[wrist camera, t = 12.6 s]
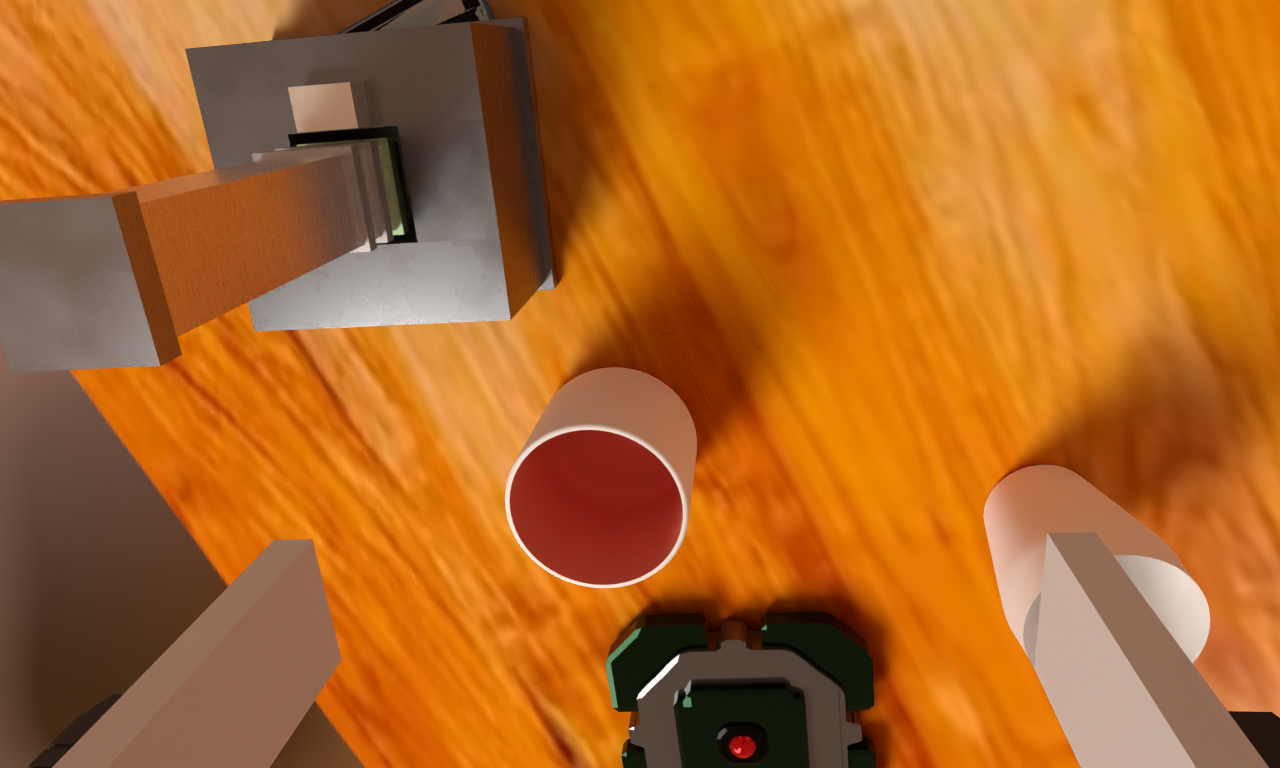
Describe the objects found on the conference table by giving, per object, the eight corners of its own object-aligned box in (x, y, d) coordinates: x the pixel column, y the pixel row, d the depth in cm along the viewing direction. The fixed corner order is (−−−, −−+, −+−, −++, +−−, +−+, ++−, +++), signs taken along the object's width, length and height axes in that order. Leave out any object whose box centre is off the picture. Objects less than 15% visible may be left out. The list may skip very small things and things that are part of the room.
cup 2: (955, 459, 53) (1011, 566, 42) (1110, 433, 51) (1212, 538, 40) (971, 581, 56) (1028, 712, 45) (1119, 561, 54) (1216, 692, 43)
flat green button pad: (605, 606, 60) (594, 647, 56) (866, 596, 58) (875, 639, 53) (636, 800, 66) (628, 850, 62) (873, 799, 64) (882, 852, 59)
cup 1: (627, 329, 52) (602, 387, 43) (730, 446, 54) (727, 526, 45) (513, 421, 56) (466, 494, 46) (614, 528, 58) (589, 619, 48)
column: (312, 139, 43) (-48, 207, 23) (403, 132, 42) (111, 196, 23) (332, 234, 45) (11, 371, 25) (420, 228, 44) (160, 365, 24)
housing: (271, 41, 49) (152, 37, 39) (526, 17, 47) (468, 7, 37) (325, 296, 54) (232, 349, 44) (557, 285, 52) (514, 337, 42)
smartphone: (246, 85, 49) (463, -41, 45) (255, 84, 50) (469, -39, 46) (313, 202, 51) (527, 92, 47) (320, 200, 52) (531, 91, 48)
